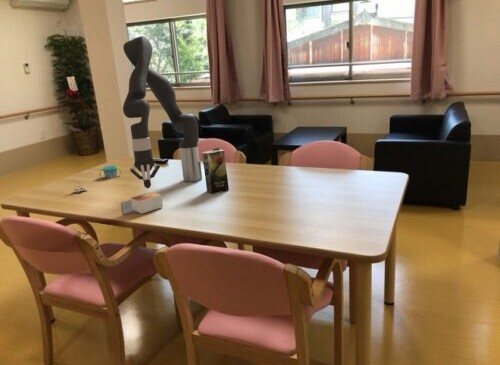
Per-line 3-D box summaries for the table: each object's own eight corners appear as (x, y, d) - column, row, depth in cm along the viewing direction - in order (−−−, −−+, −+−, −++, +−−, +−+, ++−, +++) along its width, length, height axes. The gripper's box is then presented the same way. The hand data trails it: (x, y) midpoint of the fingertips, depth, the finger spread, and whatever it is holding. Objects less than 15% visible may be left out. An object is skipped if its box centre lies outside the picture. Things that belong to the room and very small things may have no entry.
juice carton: (200, 150, 187) (206, 150, 182) (219, 147, 192) (225, 147, 187) (205, 192, 191) (211, 194, 186) (224, 188, 196) (230, 190, 191)
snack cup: (122, 177, 232) (120, 164, 230) (121, 180, 224) (119, 167, 222) (101, 179, 229) (99, 166, 227) (100, 183, 222) (97, 169, 220)
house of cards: (69, 199, 196) (66, 184, 194) (68, 195, 204) (65, 180, 202) (89, 196, 200) (86, 181, 198) (87, 192, 207) (85, 177, 205)
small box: (161, 194, 171) (139, 201, 164) (163, 207, 173) (141, 214, 166) (152, 191, 177) (129, 197, 170) (153, 203, 178) (131, 210, 171)
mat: (150, 198, 188) (150, 197, 188) (155, 209, 171) (155, 208, 171) (121, 202, 184) (121, 202, 184) (123, 214, 168) (123, 214, 167)
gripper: (157, 145, 176) (162, 183, 181) (125, 149, 172) (131, 188, 177) (159, 147, 169) (164, 187, 174) (126, 151, 165) (132, 192, 170)
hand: (147, 187), depth 175 cm, fingers closed
